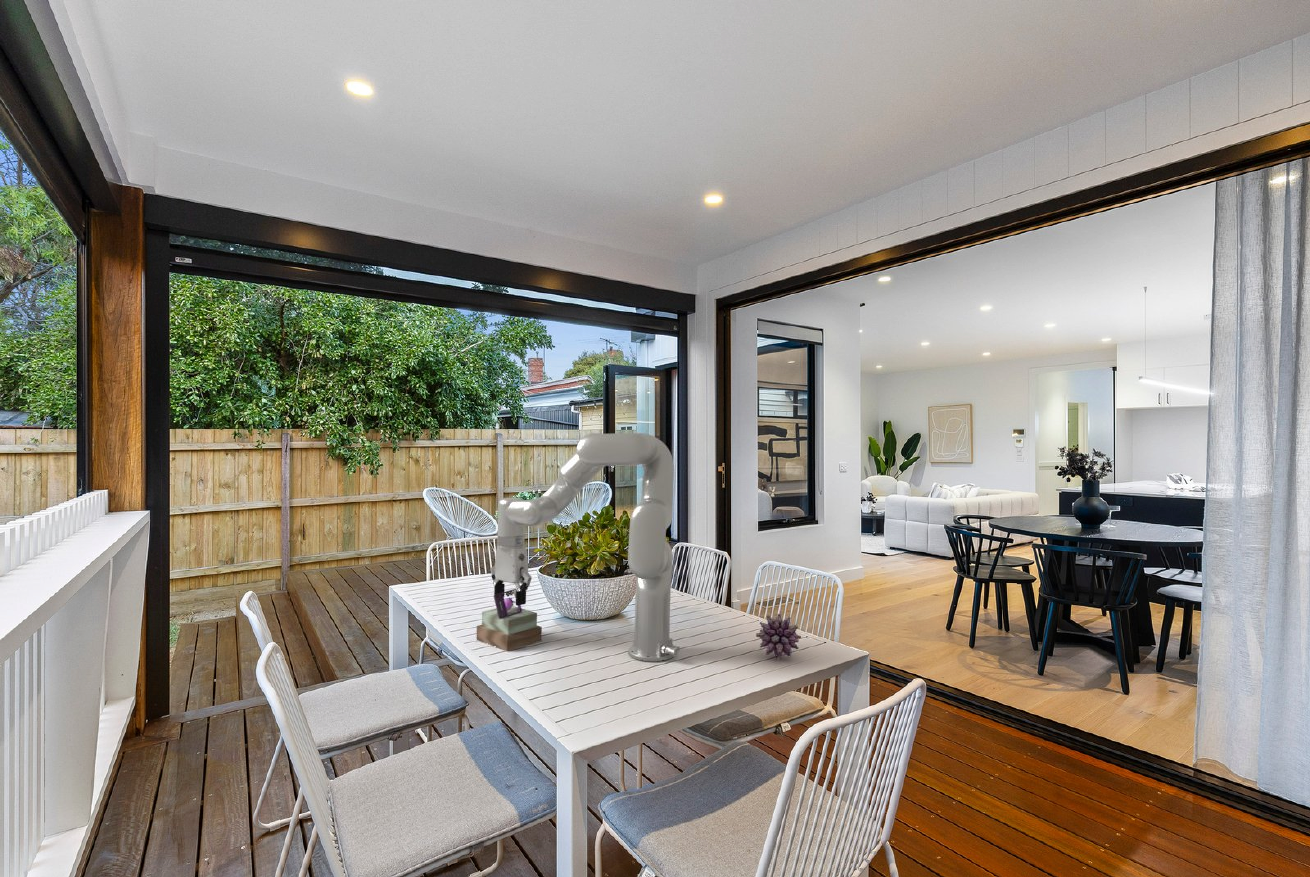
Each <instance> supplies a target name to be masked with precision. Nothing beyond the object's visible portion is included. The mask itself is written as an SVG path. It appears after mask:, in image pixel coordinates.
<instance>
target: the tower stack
mask: <svg viewBox="0 0 1310 877" xmlns="http://www.w3.org/2000/svg"><path fill="white" fill-rule="evenodd" d="M517 609H518V606H516V605H513V606H512V607H511V609H510V610H508V611H507V614H508V615H509V614H512V613H515V612H517ZM521 609H522V612H519V613H517V614H514V615H511V616H508V617H505V618H502V619H499V617H498V614H497V608H496V607H495V608H493V609H489V610H484V611H482V612H481V624H480V625H479V624H478V625H476V639H477V640H476V641H478V640H479V641H478V642H481V643H483V642H485V643H484V644H486V643H488V644H487V645H489V644H490V645H489V646H491V645H492V647H494V646H496V647H495V648H497V647H498V648H497V649H499V648H501V649H500V650H502V649H503V651H506V652H509V651H513V650H516V648H517V649H519V648H520V649H521V648H522V646H523V647H525V646H529V645H533V644H536V643H539V642H542V638H543V637H542V636H543V634H542V633H543V631H542V630H543V628H542V626H541V625H538V613H537V612H534V611H532V610H529V609H526V608H522V607H521ZM519 611H520V610H519Z"/></svg>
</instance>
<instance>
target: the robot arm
mask: <svg viewBox="0 0 1310 877" xmlns="http://www.w3.org/2000/svg"><path fill="white" fill-rule="evenodd" d="M640 465H641V466H642V468H643V476H642V482H641V499H640V502H639V503H638V504H637V505H636V506H635V507H634V509H633V511H632V513H631V515H630V520H629V531H628V550H627V563H628V567H629V570H630V571H631V573H632V575H634V576H635V597H634V598H635V600H634V634H633V636H634V638H633V640H634V641H633V645H631V646H629V648H628V650H627V651H628V652H627V654H628V655H629V656H630V657H631V658H633V659H635V660H639V661H642V660H643V662H662V660H664V661H668V660H669V659H672V658H673V657H676V656H678V655H679V652H680V649H681V647H680V646H679V645H674V644H673V638H671V637H670V632H671V631H670V626H671V591H672V590H671V587H672V586H671V585H672V573H673V570H672V569H673V563H674V562H673V560H674V556H673V550H672V547H671V545H670V543H669V542H668V541H667V540H666V537H667V536H666V533H667V529H668V528H669V527H670V525H671V524H672V522H673V505H674V504H673V503H674V480H675V479H674V477H675V476H674V474H675V473H674V472H675V469H674V468H675V466H674V459H673V456H672V454H671V451H670V450H669V448H668V446H667V445H666V443H664V442H663V441H662V440H660V439H659V438H657V437H655V436H654V435H651V434H648V433H643V432H627V433H625V432H623V433H619V432H618V433H601V432H600V433H598V432H597V433H596V432H593V433H588V434H586V435H583V436H582V437H581V438H580V439H579V441H578V443H577V445H576V451H575V452H574V453H573V454H572V455H571V456H570V457H569V458H568V459H567V460H565V462H564V463H563V464H562V465H561V466H560V467H559V470H558V477H557V480H556V481H555V482H554V483H553V484H552V485H551V487H549V489H548V490H547V491H546V492H544V493H543V494H542V495H541V496H540V497H534V498H531V499H524V498H521V497H504V498H500V499H499V500H498V503H497V507H498V508H497V547H496V550H495V559H494V565H493V566H492V567H490V569H489V570H490V574H491V579H492V580H493V582H492V584H493V588H494V589H493V590H494V591H493V596H494V595H496V594H499V593H502V592H506V591H505V582H506V583H509V584H513V585H514V586H515V589H517V591H516V598H515V606H516V607H518V606H519V605H521V606H523V605H526V603H527V590H528V589H529V587H530V585H531V581H532V579H533V577H532V575H530V573H529V562H528V561H529V560H528V552H527V548H526V546H525V534H526V532H525V531H526V526H527V527H538V526H540V525H543V524H546V523H549V522H551V521H553V520H554V519H556V518H557V516H559V515H560V514H561V513H562V512H563V511H564V510H565V509H566V508H567V507H568V506H569V505H570V504H571V503H572V502H573V501H574V500H575V499H576V497H577V496H578V495H579V494H580V493H581V491H582V490H583V488H584V487H585V486H586V485H587V484H589V482H590V481H591V480H592V479H593V478H594V477H596V475H598V474H599V472H601V471H602V470H603V469H604V468H605V467H610V466H618V467H619V466H624V467H625V466H627V467H628V466H633V467H634V466H640ZM520 584H521V585H520ZM503 597H504V598H505V593H504V594H503Z"/></svg>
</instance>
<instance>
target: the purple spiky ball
mask: <svg viewBox="0 0 1310 877" xmlns="http://www.w3.org/2000/svg"><path fill="white" fill-rule="evenodd" d="M766 617H767V618H766V621H767V623H766V622H761V621H760V622H759V624H760V627H761V628H760V629H759V633H755V634H756V635H755V637H756V638H759V639H761V643H760V644H759V645H760V648H765V647H766V648H767V649H766V653H765V655H766V656H769V655H770V654H771V653H773V652H774V654H775V656H776V655H777V658H779V659H778V660H781V656H782V655H783V654H785V655H786V656H787V657H788V656H790V657H792V654H793V650H792V649H796V650H799V648H800V647H799V646H798V645H797V644H796V643H799V642H800V640H799V639H801V638H802V636H801V635H799V634H798V633H797V632H796V631H797V630H798V629H799V626H798V624H793V625H791V619H792V617H791V616H788V617H787V618H785V619H783V618H782V614H781V613H777V614H776V617H775V618H773V617H771V616H770V615H769V614H767V616H766ZM777 658H776V659H777Z"/></svg>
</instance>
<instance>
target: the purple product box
mask: <svg viewBox="0 0 1310 877" xmlns="http://www.w3.org/2000/svg"><path fill="white" fill-rule="evenodd" d="M516 591H518V590H517V588H513V589H510V590H506V591H504V592H502V593H499V594H496V595H494V594H493V598H494V603H495V609H496V608H497V614H498V617H499V619H502V618H505V617H508V616H511V615H514V614H517V613H519V612H522V609H523V608H522V605H519V606H517V607H518V609H517V612H515V613H512V614H509V615H508V614H507V611H508V610H510V609H511V607H512V606H515V604H514V603H516V600H513V598H512V597H510V596H514V597H515V599H516ZM503 594H504V595H505V596H506V598H505V596H504V597H503ZM521 608H522V609H521ZM519 610H520V611H519Z"/></svg>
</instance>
